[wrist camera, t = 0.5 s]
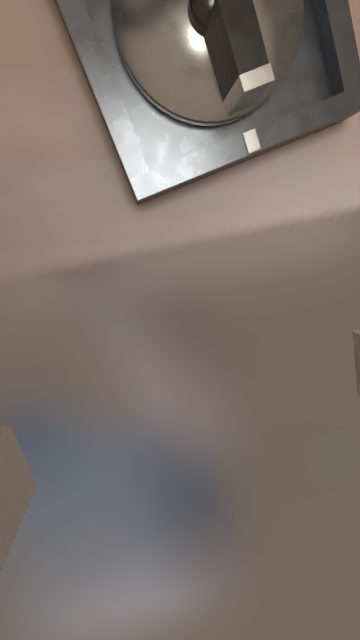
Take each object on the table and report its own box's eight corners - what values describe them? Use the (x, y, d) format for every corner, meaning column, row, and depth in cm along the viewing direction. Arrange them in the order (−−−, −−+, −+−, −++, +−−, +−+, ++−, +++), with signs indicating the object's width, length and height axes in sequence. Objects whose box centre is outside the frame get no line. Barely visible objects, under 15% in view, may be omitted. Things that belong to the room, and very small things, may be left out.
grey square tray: (26, -70, 28) (4, -129, 23) (281, -169, 28) (307, -246, 24) (137, 204, 34) (137, 199, 30) (342, 121, 35) (372, 103, 30)
